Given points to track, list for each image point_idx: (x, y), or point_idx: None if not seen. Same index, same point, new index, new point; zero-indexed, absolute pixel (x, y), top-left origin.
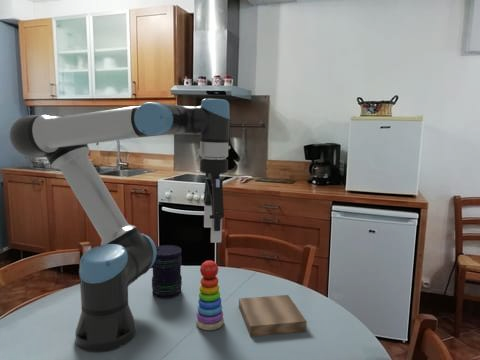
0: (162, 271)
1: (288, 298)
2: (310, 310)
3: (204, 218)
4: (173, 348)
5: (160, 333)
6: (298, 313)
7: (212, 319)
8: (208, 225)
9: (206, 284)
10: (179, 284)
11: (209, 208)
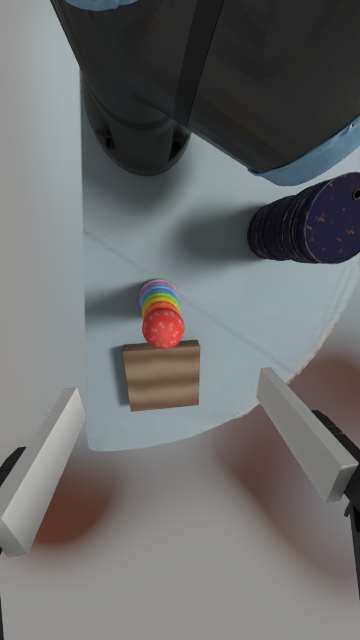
0: (280, 216)
1: (188, 403)
2: (176, 414)
3: (285, 396)
4: (100, 242)
5: (140, 221)
6: (149, 407)
7: (139, 304)
8: (263, 387)
9: (145, 312)
10: (265, 255)
11: (318, 466)
